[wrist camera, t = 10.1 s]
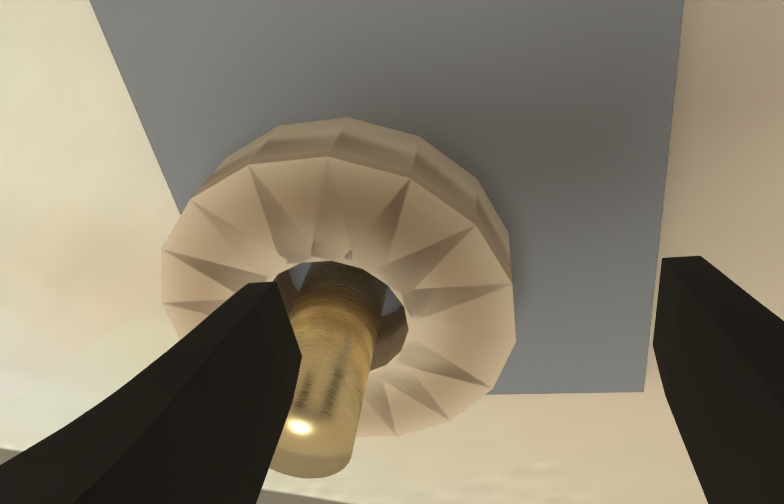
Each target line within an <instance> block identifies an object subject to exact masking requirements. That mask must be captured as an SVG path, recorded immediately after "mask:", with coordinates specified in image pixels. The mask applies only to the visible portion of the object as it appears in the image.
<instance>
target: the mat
mask: <svg viewBox="0 0 784 504" xmlns="http://www.w3.org/2000/svg"><path fill="white" fill-rule="evenodd" d="M89 1H90V3H91V5H92V8H93V10H94V12H95V15H96V17H97V19H98V22H99V24H100V26H101V29H102V31H103V34H104V36H105V38H106V41H107V43H108V45H109V48H110V50H111V52H112V55H113V57H114V59H115V62H116V64H117V66H118V69H119V71H120V74H121V76H122V78H123V81H124V83H125V85H126V88H127V90H128V92H129V95H130V97H131V99H132V102H133V104H134V107H135V109H136V111H137V114H138V116H139V118H140V121H141V123H142V125H143V128H144V130H145V132H146V135H147V137H148V139H149V142H150V144H151V147H152V149H153V151H154V154H155V156H156V158H157V161H158V163H159V165H160V168H161V170H162V172H163V175H164V177H165V180H166V182H167V184H168V187H169V189H170V191H171V194H172V196H173V198H174V201H175V203H176V205H177V208H178V210H179V212H180V215H181V214H182V213H183V211H184V209H185V207H186V206H187V204H188V202H189V200H190V199H191V197H192V196H193V195H194V194H195V193H196V192H197V191H198V189H199V188H200V187H201V186H202V185H203V184H204V183H205V181H206V180H207V179H208V178H209V177H210V176H211V174H212V173H213V172H214V171H215V170H216V169H217V168H218V166H219V165H220V164H221V163H222V162H223V161H224V159H225V158H226V157H228V156H229V155H231V154H233V153H234V152H236V151H238V150H239V149H241V148H243V147H244V146H246V145H248V144H249V143H251V142H252V141H254V140H256V139H257V138H259V137H261V136H262V135H264V134H266V133H267V132H269V131H270V130H272V129H274V128H275V127H277V126H279V125H287V124H295V123H304V122H312V121H321V120H329V119H338V118H346V117H349V118H353V119H357V120H360V121H364V122H368V123H372V124H375V125H379V126H383V127H387V128H390V129H394V130H398V131H401V132H405V133H409V134H413V135H416V136H420V137H421V138H423V139H424V140H425V141H427V142H428V143H429V144H431V145H432V146H433V147H435V148H436V149H438V150H439V151H440V152H442V153H443V154H444V155H446V156H447V157H448V158H450V159H451V160H453V161H454V162H455V163H457V164H458V165H459V166H461V167H462V168H463V169H465V170H466V171H467V172H469V173H470V174H472V175H473V176H474V177H476V178H477V179H478V181H479V183H480V185H481V186H482V188H483V190H484V191H485V193H486V195H487V196H488V198H489V200H490V202H491V203H492V205H493V207H494V208H495V210H496V212H497V214H498V215H499V217H500V219H501V220H502V222H503V224H504V225H505V227H506V229H507V231H508V232H509V245H510V259H511V272H512V288H513V303H514V318H515V333H516V343H515V345H514V347H513V349H512V351H511V353H510V355H509V357H508V359H507V361H506V363H505V365H504V367H503V369H502V371H501V373H500V375H499V377H498V379H497V381H496V383H495V385H494V387H493V389H492V390H490V391H489V392H488V393H486V394H485V395H488V394H549V393H609V392H644V384H645V375H646V365H647V355H648V345H649V336H650V326H651V316H652V306H653V297H654V287H655V277H656V268H657V258H658V248H659V238H660V229H661V219H662V209H663V199H664V190H665V180H666V170H667V161H668V151H669V141H670V131H671V122H672V112H673V102H674V92H675V83H676V73H677V63H678V54H679V44H680V34H681V24H682V15H683V5H684V0H89ZM310 264H311V262H304V263H300V264H298V265H296V266H294V267H292V268H290V269H288V271H289V275H290V278H291V281H292V284H293V285H294V286H295V288H296V289H297V290H298V291H300V288H301V286H302V283H303V281H304V279H305V276H306V274H307V271H308V269H309V267H310ZM401 305H402V303H401V302H400V301H399V299H398V298H397V297H396V295H395V294H394V293H393V291H392V290H391V289H390V287H389V286H388V287H387V291H386V296H385V301H384V305H383V310H382V315H381V317H382V316H385V315H387V314H390V313H392V312H395V311H396V310H397V309H398V308H399V307H400V306H401Z"/></svg>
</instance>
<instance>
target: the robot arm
mask: <svg viewBox="0 0 784 504" xmlns="http://www.w3.org/2000/svg"><path fill="white" fill-rule="evenodd" d="M653 348H654V352H655V356H656V360H657V365H658V369H659V373H660V377H661V380H662V384H663V388H664V392H665V396H666V398H667V401H668V403H669V406H670V409H671V411H672V414H673V416H674V419H675V421H676V424H677V426H678V429H679V432H680V434H681V437H682V439H683V442H684V444H685V447H686V449H687V452H688V454H689V457H690V459H691V462H692V464H693V467H694V469H695V472H696V474H697V477H698V479H699V482H700V484H701V487H702V489H703V492H704V494H705V497H706V499H707V502H708V504H784V321H783V320H782V319H780V318H779V317H778V316H776V315H775V314H774V313H772V312H771V311H770V310H769V309H767V308H766V307H765V306H763V305H762V304H761V303H759V302H758V301H757V300H756V299H754V298H753V297H752V296H751V295H749V294H748V293H747V292H745V291H744V290H743V289H742V288H740V287H739V286H738V285H737V284H735V283H734V282H733V281H732V280H730V279H729V278H728V277H727V276H725V275H724V274H723V273H722V272H720V271H719V270H718V269H717V268H715V267H714V266H713V265H712V264H710V263H709V262H708V261H706V260H705V259H704V258H702V257H701V256H689V257H672V258H662V264H661V274H660V283H659V292H658V301H657V311H656V320H655V329H654V338H653ZM301 360H302V354H301V351H300V348H299V346H298V343H297V340H296V337H295V334H294V331H293V328H292V325H291V322H290V319H289V317H288V314H287V311H286V308H285V305H284V302H283V299H282V296H281V293H280V290H279V288H278V285H277V282H276V281H273V282H257V283H248V284H246V285H245V286H244V287H242V288H241V289H240V290H238V291H237V292H236V293H235V294H233V295H232V296H231V297H230V298H229V299H227V300H226V301H225V302H224V303H223V304H222V305H220V306H219V307H218V308H217V309H216V310H215V311H213V312H212V313H211V314H210V315H209V316H208V317H207V318H205V319H204V320H203V321H202V322H201V323H200V324H198V325H197V326H196V327H195V328H194V329H193V330H191V331H190V332H189V333H188V334H187V335H186V336H184V337H183V338H182V339H181V340H180V341H179V342H177V343H176V344H175V345H174V346H173V347H172V348H170V349H169V350H168V351H167V352H165V353H164V354H163V355H162V356H160V357H159V358H158V359H157V360H155V361H154V362H153V363H152V364H150V365H149V366H148V367H147V368H145V369H144V370H143V371H142V372H140V373H139V374H138V375H137V376H135V377H134V378H133V379H132V380H130V381H129V382H128V383H127V384H125V385H124V386H122V387H121V388H120V389H118V390H117V391H116V392H114V393H113V394H112V395H110V396H109V397H107V398H106V399H105V400H103V401H102V402H100V403H99V404H98V405H96V406H95V407H93V408H92V409H90V410H89V411H87V412H86V413H84V414H83V415H81V416H80V417H78V418H77V419H75V420H74V421H72V422H71V423H69V424H68V425H66V426H65V427H63V428H62V429H60V430H58V431H57V432H55V433H53V434H52V435H50V436H48V437H47V438H45V439H43V440H42V441H40V442H38V443H37V444H35V445H33V446H32V447H30V448H28V449H27V450H25V451H23V452H22V453H20V454H18V455H17V456H15V457H13V458H12V459H10V460H8V461H7V462H5V463H3V464H2V465H0V504H256V502H257V499H258V497H259V494H260V491H261V488H262V486H263V483H264V480H265V477H266V475H267V472H268V469H269V466H270V464H271V461H272V458H273V455H274V453H275V450H276V447H277V444H278V442H279V439H280V436H281V433H282V431H283V428H284V425H285V422H286V419H287V416H288V414H289V411H290V408H291V405H292V402H293V398H294V393H295V389H296V385H297V380H298V375H299V370H300V365H301Z"/></svg>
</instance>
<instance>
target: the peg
mask: <svg viewBox="0 0 784 504" xmlns="http://www.w3.org/2000/svg"><path fill="white" fill-rule="evenodd" d="M387 287H388V285H387V284H385V283H384V282H382V281H381V280H379V279H378V278H376V277H374V276H373V275H371V274H370V273H368V272H367V271H365V270H364V269H362V268H358V267H354V266H350V265H346V264H343V263H339V262H335V261H319V262H311V264H310V267H309V269H308V271H307V274H306V276H305V279H304V281H303V283H302V286H301V288H300V291H299V293H298V295H297V298H296V300H295V303H294V305H293V307H292V310H291V312H290V315H289V319H290V322H291V325H292V328H293V331H294V334H295V337H296V340H297V343H298V346H299V348H300V351H301V354H302V360H301V365H300V370H299V375H298V380H297V385H296V389H295V393H294V398H293V402H292V405H291V408H290V411H289V414H288V416H287V419H286V422H285V425H284V428H283V431H282V433H281V436H280V439H279V442H278V444H277V447H276V450H275V453H274V455H273V458H272V461H271V464H270V466H269V468H271V469H273V470H275V471H277V472H280V473H282V474H286V475H289V476H294V477H299V478H322V477H327V476H330V475H333V474H336V473H338V472H339V471H341V470H342V469H344V468H345V467H346V466H347V464H348V463H349V461H350V459H351V455H352V450H353V446H354V441H355V436H356V432H357V427H358V422H359V418H360V413H361V408H362V404H363V399H364V394H365V390H366V385H367V380H368V376H369V371H370V366H371V361H372V357H373V352H374V347H375V343H376V338H377V333H378V329H379V324H380V319H381V315H382V310H383V305H384V301H385V296H386V291H387Z"/></svg>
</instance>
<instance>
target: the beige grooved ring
mask: <svg viewBox="0 0 784 504" xmlns="http://www.w3.org/2000/svg"><path fill="white" fill-rule="evenodd" d="M319 261H335V262H339V263H343V264H346V265H350V266H354V267H358V268H362V269H364V270H365V271H367V272H368V273H370V274H371V275H373V276H374V277H376V278H378V279H379V280H381V281H382V282H384V283H385V284H387V285H388V286H389V287H390V289H391V290H392V291H393V293H394V294H395V295H396V297H397V298H398V299H399V301H400V302H401V303H402V305H401V306H400V307H399V308H398V309H397V310H396V311H395V312H392V313H390V314H387V315H385V316H382V317H381V319H380V324H379V329H378V333H377V338H376V343H375V347H374V352H373V357H372V361H371V366H370V371H369V376H368V380H367V385H366V390H365V394H364V399H363V404H362V408H361V413H360V418H359V422H358V427H357V432H356V436H355V437H398V436H401V435H405V434H408V433H411V432H415V431H418V430H421V429H425V428H428V427H431V426H435V425H438V424H441V423H445V422H448V421H451V420H452V419H454V418H455V417H456V416H457V415H459V414H460V413H461V412H463V411H464V410H465V409H467V408H468V407H469V406H471V405H472V404H473V403H475V402H476V401H477V400H479V399H480V398H481V397H482V396H484V395H485V394H486V393H488V392H489V391H490V390H492V389H493V387H494V385H495V383H496V381H497V379H498V377H499V375H500V373H501V371H502V369H503V367H504V365H505V363H506V361H507V359H508V357H509V355H510V353H511V351H512V349H513V347H514V345H515V343H516V333H515V318H514V303H513V288H512V272H511V259H510V245H509V232H508V231H507V229H506V227H505V225H504V224H503V222H502V220H501V219H500V217H499V215H498V214H497V212H496V210H495V208H494V207H493V205H492V203H491V202H490V200H489V198H488V196H487V195H486V193H485V191H484V190H483V188H482V186H481V185H480V183H479V181H478V179H477V178H476V177H474V176H473V175H472V174H470V173H469V172H467V171H466V170H465V169H463V168H462V167H461V166H459V165H458V164H457V163H455V162H454V161H453V160H451V159H450V158H448V157H447V156H446V155H444V154H443V153H442V152H440V151H439V150H438V149H436V148H435V147H433V146H432V145H431V144H429V143H428V142H427V141H425V140H424V139H423V138H421V137H420V136H416V135H413V134H409V133H405V132H401V131H398V130H394V129H390V128H387V127H383V126H379V125H375V124H372V123H368V122H364V121H360V120H357V119H353V118H349V117H346V118H338V119H329V120H321V121H312V122H304V123H295V124H287V125H279V126H277V127H275V128H274V129H272V130H270V131H269V132H267V133H266V134H264V135H262V136H261V137H259V138H257V139H256V140H254V141H252V142H251V143H249V144H248V145H246V146H244V147H243V148H241V149H239V150H238V151H236V152H234V153H233V154H231V155H229V156H228V157H226V158H225V159H224V161H223V162H222V163H221V164H220V165H219V166H218V168H217V169H216V170H215V171H214V172H213V173H212V174H211V176H210V177H209V178H208V179H207V180H206V181H205V183H204V184H203V185H202V186H201V187H200V188H199V189H198V191H197V192H196V193H195V194H194V195H193V196H192V197H191V199H190V200H189V202H188V204H187V206H186V207H185V209H184V211H183V213H182V214H181V216H180V218H179V220H178V221H177V223H176V225H175V227H174V228H173V230H172V232H171V233H170V235H169V237H168V239H167V240H166V242H165V244H164V246H163V247H162V303H163V305H164V307H165V309H166V311H167V313H168V315H169V317H170V320H171V322H172V324H173V326H174V328H175V330H176V332H177V334H178V336H179V338H180V340H181V339H182V338H183V337H184V336H186V335H187V334H188V333H189V332H190V331H191V330H193V329H194V328H195V327H196V326H197V325H198V324H200V323H201V322H202V321H203V320H204V319H205V318H207V317H208V316H209V315H210V314H211V313H212V312H213V311H215V310H216V309H217V308H218V307H219V306H220V305H222V304H223V303H224V302H225V301H226V300H227V299H229V298H230V297H231V296H232V295H233V294H235V293H236V292H237V291H238V290H240V289H241V288H242V287H244V286H245V285H246V284H248V283H257V282H273V281H276V282H277V285H278V288H279V290H280V293H281V296H282V299H283V302H284V305H285V308H286V311H287V314H288V317H289V315H290V312H291V310H292V307H293V305H294V303H295V300H296V298H297V295H298V293H299V291H298V290H297V289H296V288H295V286H294V285H293V284H292V281H291V278H290V275H289V271H288V269H290V268H292V267H294V266H296V265H298V264H300V263H304V262H319Z"/></svg>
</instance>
